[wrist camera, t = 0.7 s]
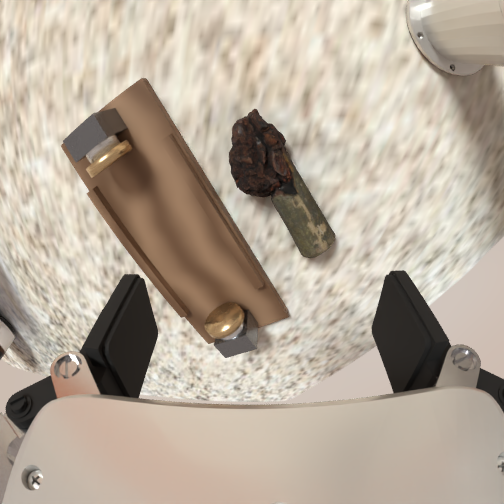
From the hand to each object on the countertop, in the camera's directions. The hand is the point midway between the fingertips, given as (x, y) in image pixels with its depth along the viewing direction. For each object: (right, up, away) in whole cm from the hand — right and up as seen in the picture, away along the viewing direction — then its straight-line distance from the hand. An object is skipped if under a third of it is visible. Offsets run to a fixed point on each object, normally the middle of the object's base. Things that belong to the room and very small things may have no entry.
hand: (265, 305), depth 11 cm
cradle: (-10, +5, +28) cm, 30 cm away
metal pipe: (+2, +10, +24) cm, 27 cm away
